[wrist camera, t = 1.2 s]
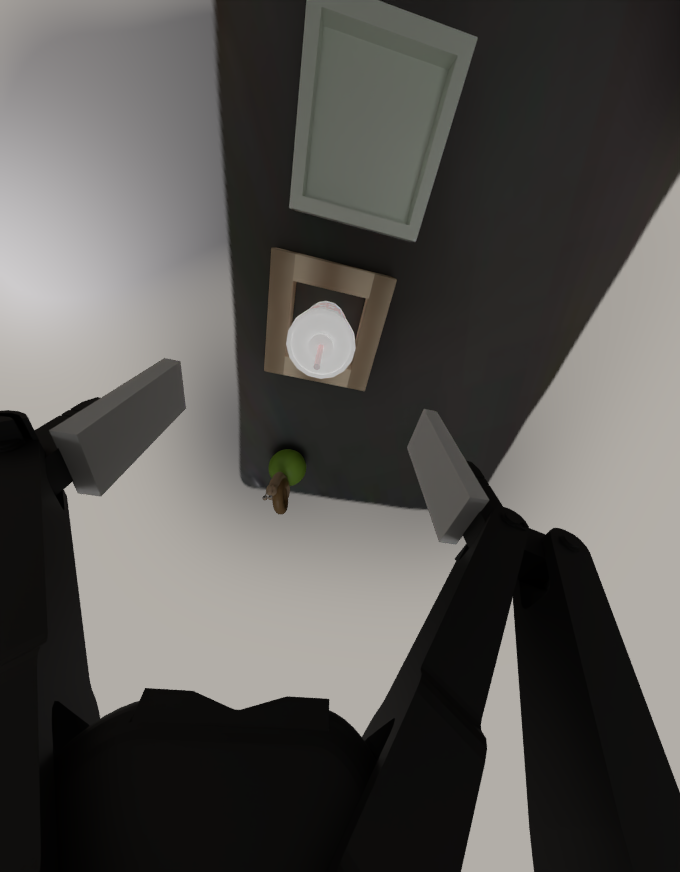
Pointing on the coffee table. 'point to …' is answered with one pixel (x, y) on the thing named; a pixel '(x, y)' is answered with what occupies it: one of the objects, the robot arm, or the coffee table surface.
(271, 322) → the socket holder
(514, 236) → the coffee table surface
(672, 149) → the coffee table surface
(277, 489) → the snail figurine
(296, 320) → the beverage cup
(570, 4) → the coffee table surface
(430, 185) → the tray
